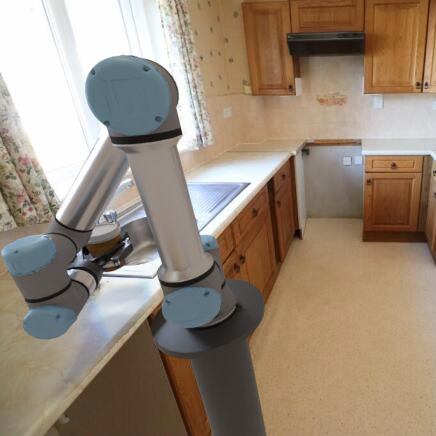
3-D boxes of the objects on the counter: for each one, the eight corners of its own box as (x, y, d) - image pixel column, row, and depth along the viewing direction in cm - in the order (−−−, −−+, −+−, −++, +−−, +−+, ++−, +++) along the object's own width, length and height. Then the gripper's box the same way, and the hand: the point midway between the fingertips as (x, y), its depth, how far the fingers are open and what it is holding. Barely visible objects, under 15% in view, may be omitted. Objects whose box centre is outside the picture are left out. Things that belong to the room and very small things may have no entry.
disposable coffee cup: (138, 258, 97) (127, 222, 92) (114, 276, 88) (100, 238, 83) (111, 256, 99) (98, 221, 94) (85, 274, 90) (69, 236, 85)
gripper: (32, 303, 74) (74, 254, 94) (132, 286, 79) (152, 243, 99) (17, 276, 71) (65, 231, 91) (123, 260, 76) (146, 221, 95)
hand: (110, 237), depth 95 cm, fingers closed on disposable coffee cup, 8 cm apart
